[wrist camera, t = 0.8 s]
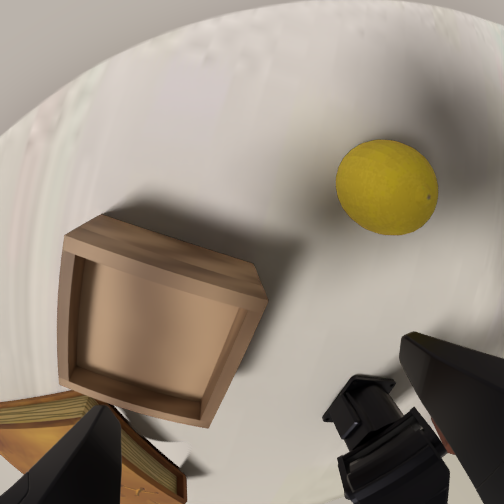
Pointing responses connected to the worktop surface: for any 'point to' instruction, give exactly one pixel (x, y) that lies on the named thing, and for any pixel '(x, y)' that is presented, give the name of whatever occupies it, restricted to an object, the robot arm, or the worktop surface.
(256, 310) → the walnut box
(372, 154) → the lemon
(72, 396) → the diary
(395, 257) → the worktop surface
